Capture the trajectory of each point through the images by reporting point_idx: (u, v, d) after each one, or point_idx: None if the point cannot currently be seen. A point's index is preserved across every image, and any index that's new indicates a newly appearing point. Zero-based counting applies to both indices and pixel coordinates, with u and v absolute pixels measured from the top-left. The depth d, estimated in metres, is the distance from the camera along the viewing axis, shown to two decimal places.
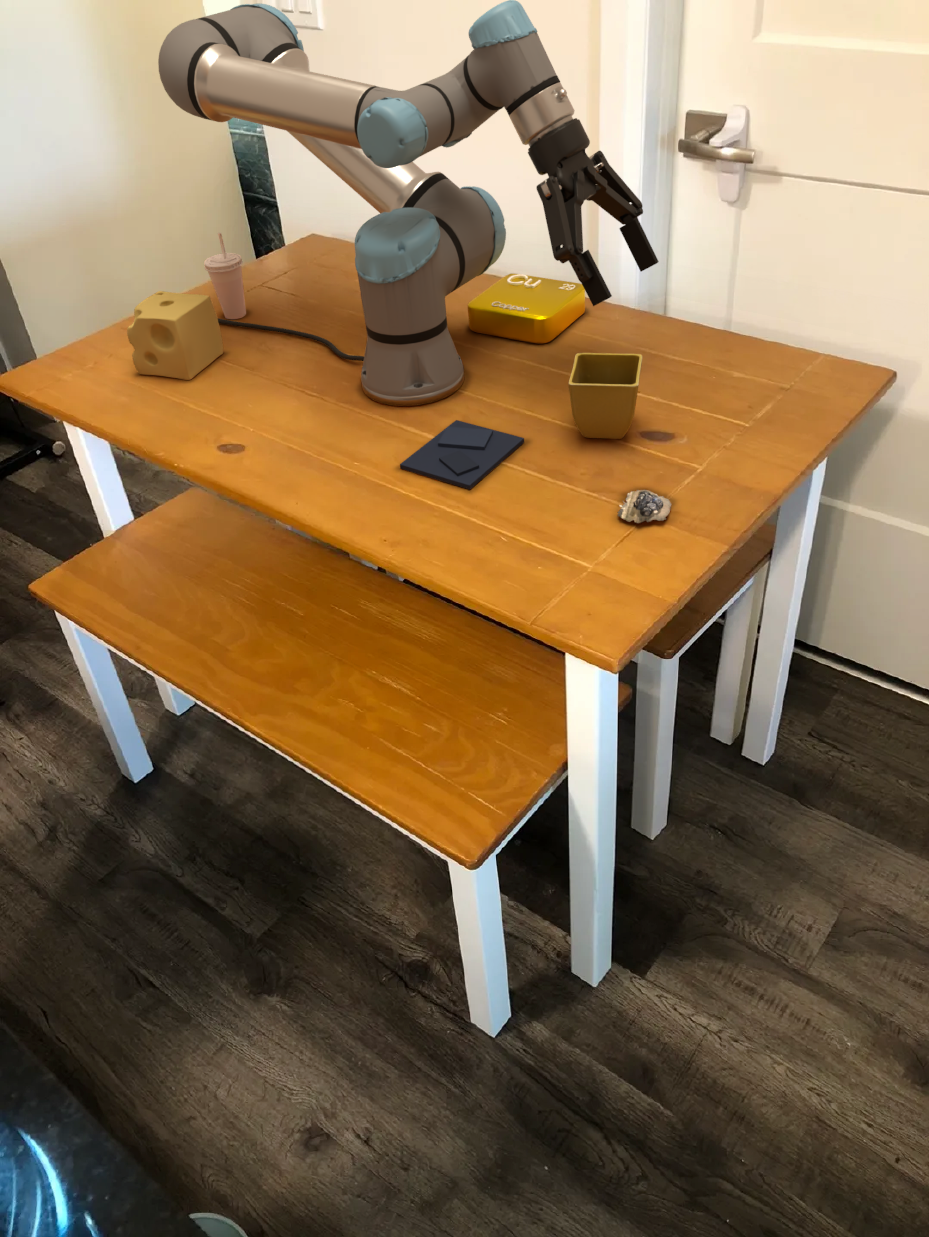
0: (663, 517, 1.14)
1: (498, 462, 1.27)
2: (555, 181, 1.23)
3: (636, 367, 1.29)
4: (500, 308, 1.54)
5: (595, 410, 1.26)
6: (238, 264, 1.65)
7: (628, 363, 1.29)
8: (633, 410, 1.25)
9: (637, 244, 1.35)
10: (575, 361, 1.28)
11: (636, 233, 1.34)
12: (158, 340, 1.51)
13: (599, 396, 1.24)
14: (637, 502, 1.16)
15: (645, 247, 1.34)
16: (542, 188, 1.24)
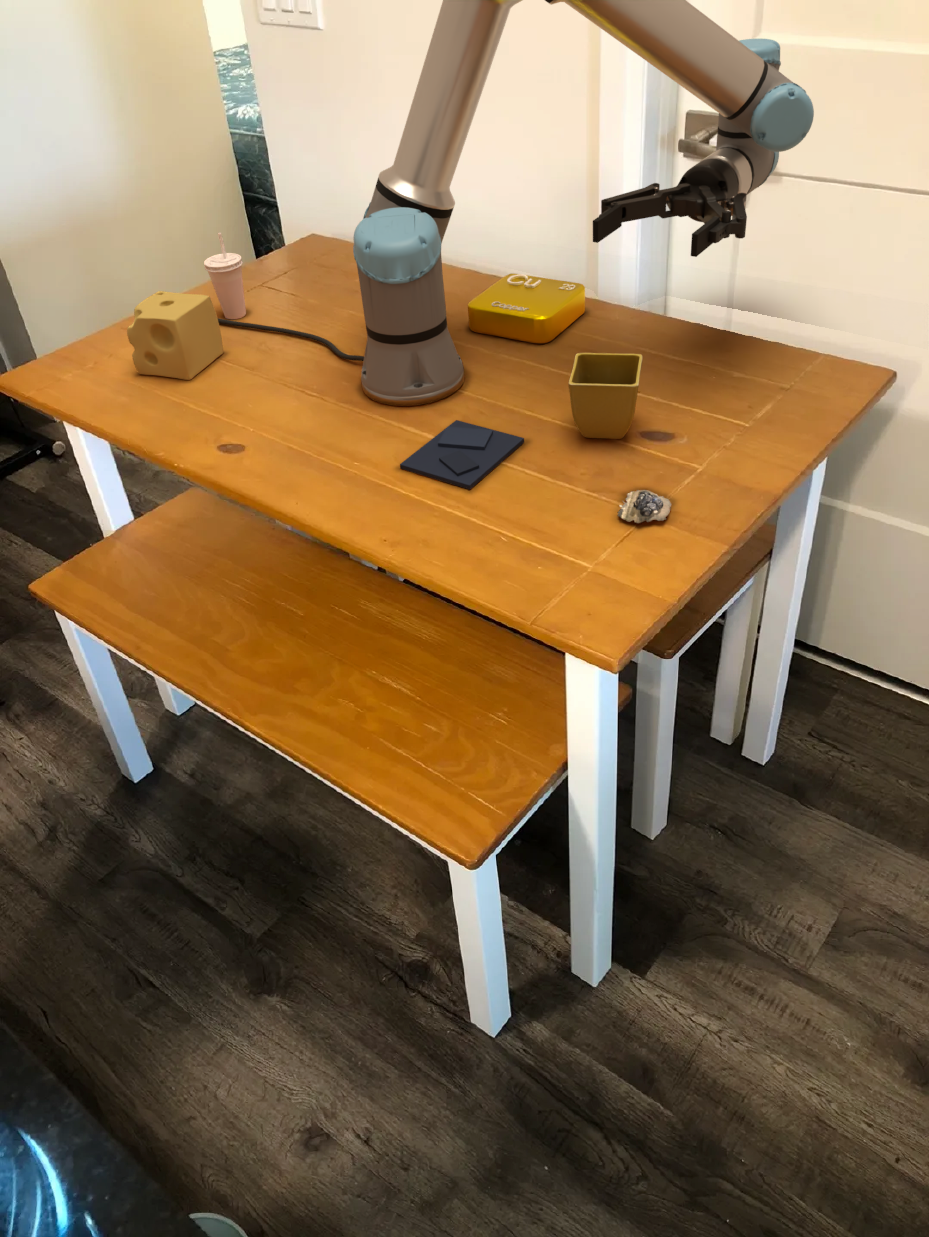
0: (663, 517, 1.14)
1: (498, 462, 1.27)
2: None
3: (636, 367, 1.29)
4: (500, 308, 1.54)
5: (595, 410, 1.26)
6: (238, 264, 1.65)
7: (628, 363, 1.29)
8: (633, 410, 1.25)
9: (610, 223, 1.28)
10: (575, 361, 1.28)
11: (615, 225, 1.29)
12: (158, 340, 1.51)
13: (599, 396, 1.24)
14: (637, 502, 1.16)
15: (607, 233, 1.28)
16: (745, 201, 1.29)
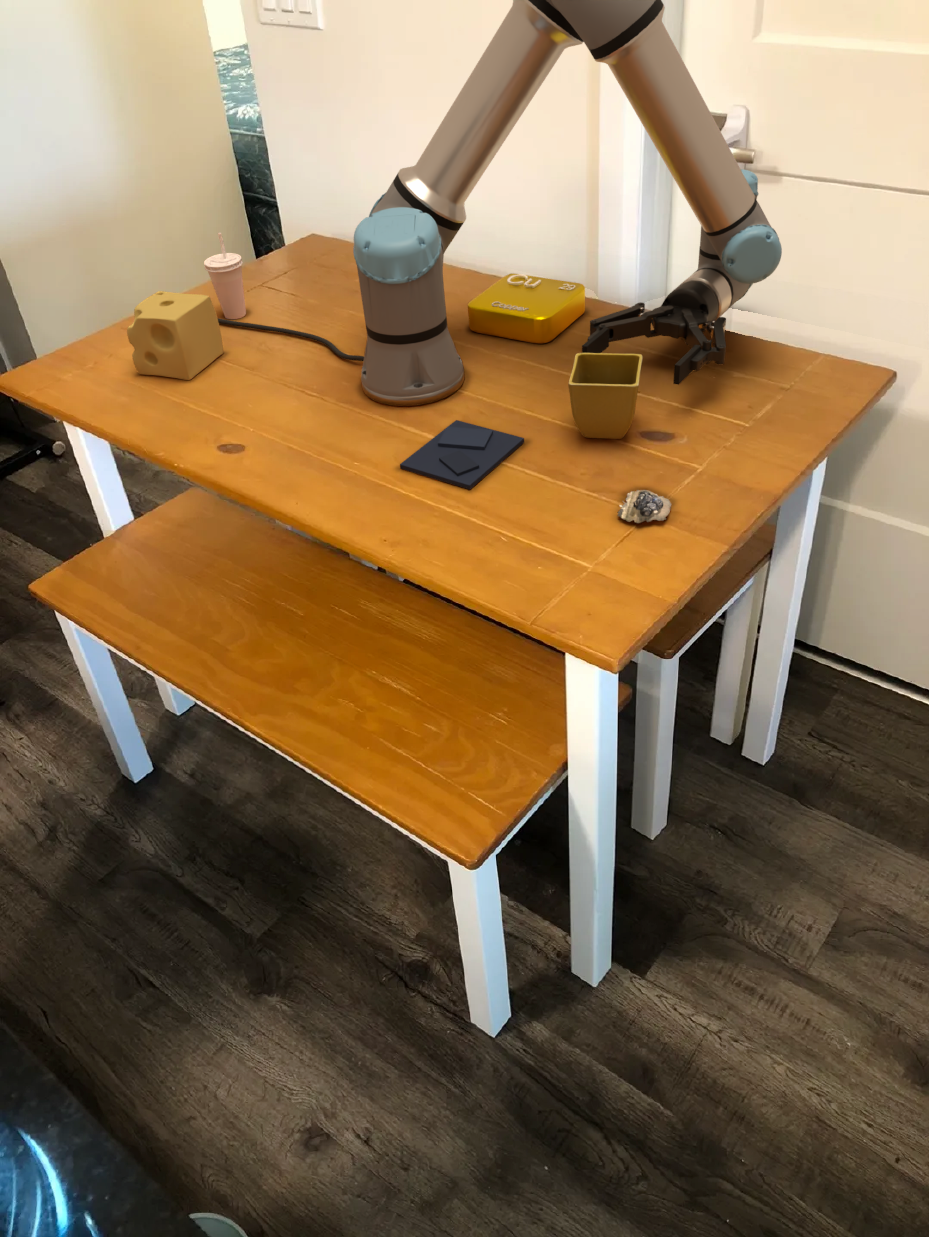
0: (663, 517, 1.14)
1: (498, 462, 1.27)
2: None
3: (636, 367, 1.29)
4: (500, 308, 1.54)
5: (595, 410, 1.26)
6: (238, 264, 1.65)
7: (628, 363, 1.29)
8: (633, 410, 1.25)
9: (598, 346, 1.37)
10: (575, 361, 1.28)
11: (603, 346, 1.38)
12: (158, 340, 1.51)
13: (599, 396, 1.24)
14: (637, 502, 1.16)
15: None
16: (724, 325, 1.37)
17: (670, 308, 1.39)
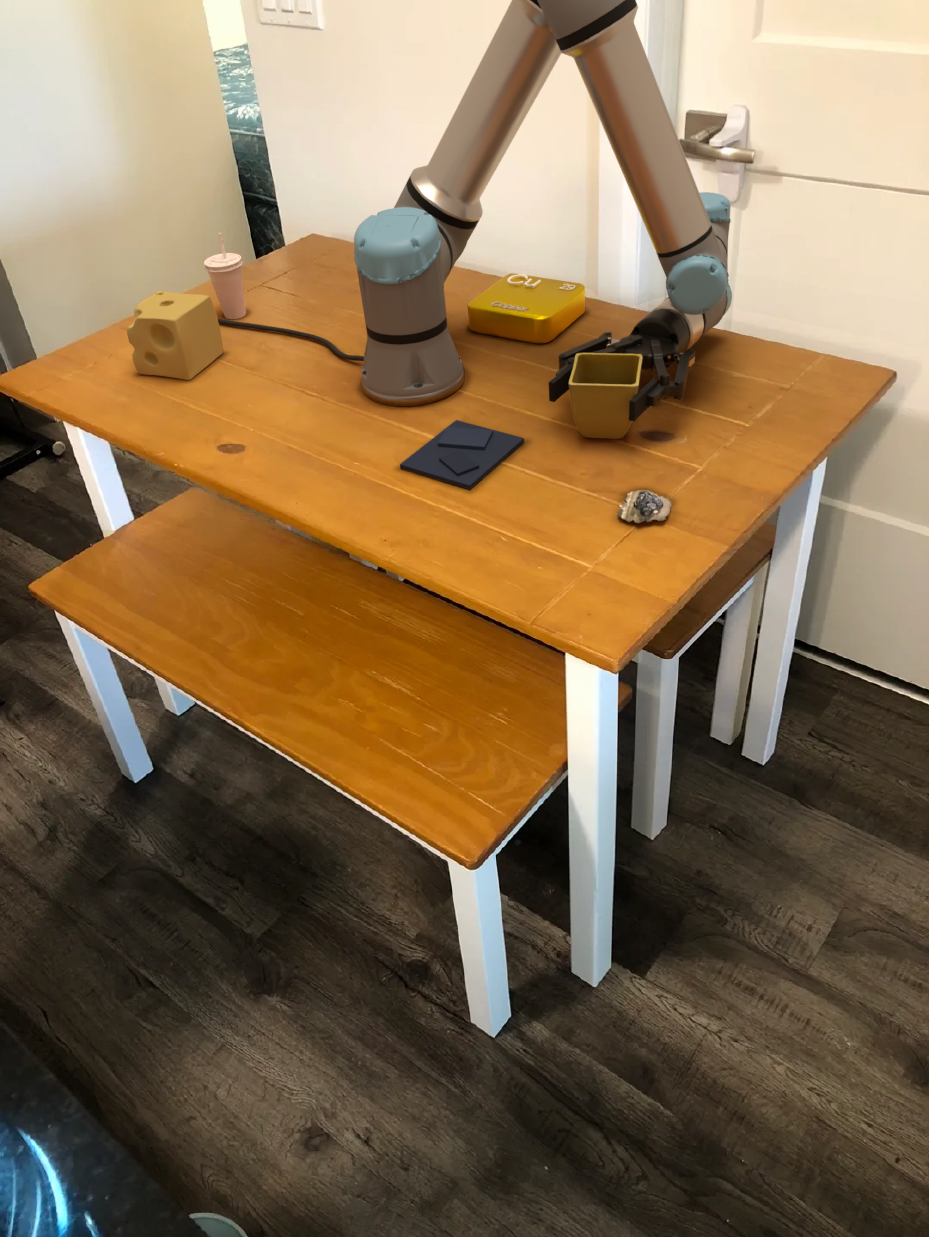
0: (663, 517, 1.14)
1: (498, 462, 1.27)
2: None
3: (636, 367, 1.29)
4: (500, 308, 1.54)
5: (595, 410, 1.26)
6: (238, 264, 1.65)
7: (628, 363, 1.29)
8: None
9: (567, 382, 1.30)
10: (575, 361, 1.28)
11: None
12: (158, 340, 1.51)
13: (599, 396, 1.24)
14: (637, 502, 1.16)
15: (563, 391, 1.30)
16: (693, 358, 1.31)
17: (638, 338, 1.34)
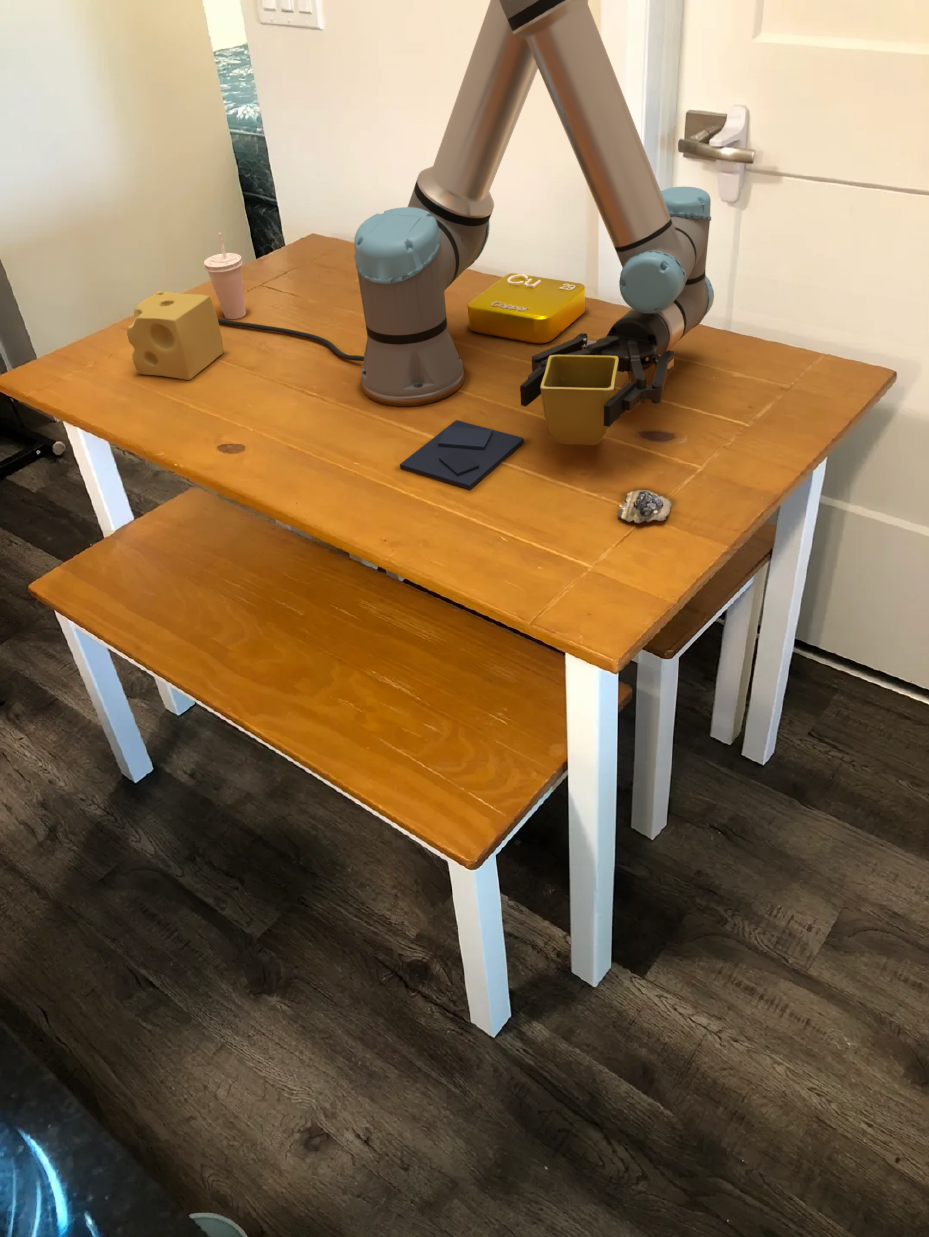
0: (663, 517, 1.14)
1: (498, 462, 1.27)
2: None
3: (612, 369, 1.23)
4: (500, 308, 1.54)
5: (569, 415, 1.20)
6: (238, 264, 1.65)
7: (604, 365, 1.23)
8: None
9: (539, 385, 1.24)
10: (548, 363, 1.22)
11: None
12: (158, 340, 1.51)
13: (573, 400, 1.18)
14: (637, 502, 1.16)
15: (536, 394, 1.24)
16: (672, 360, 1.26)
17: (615, 339, 1.28)
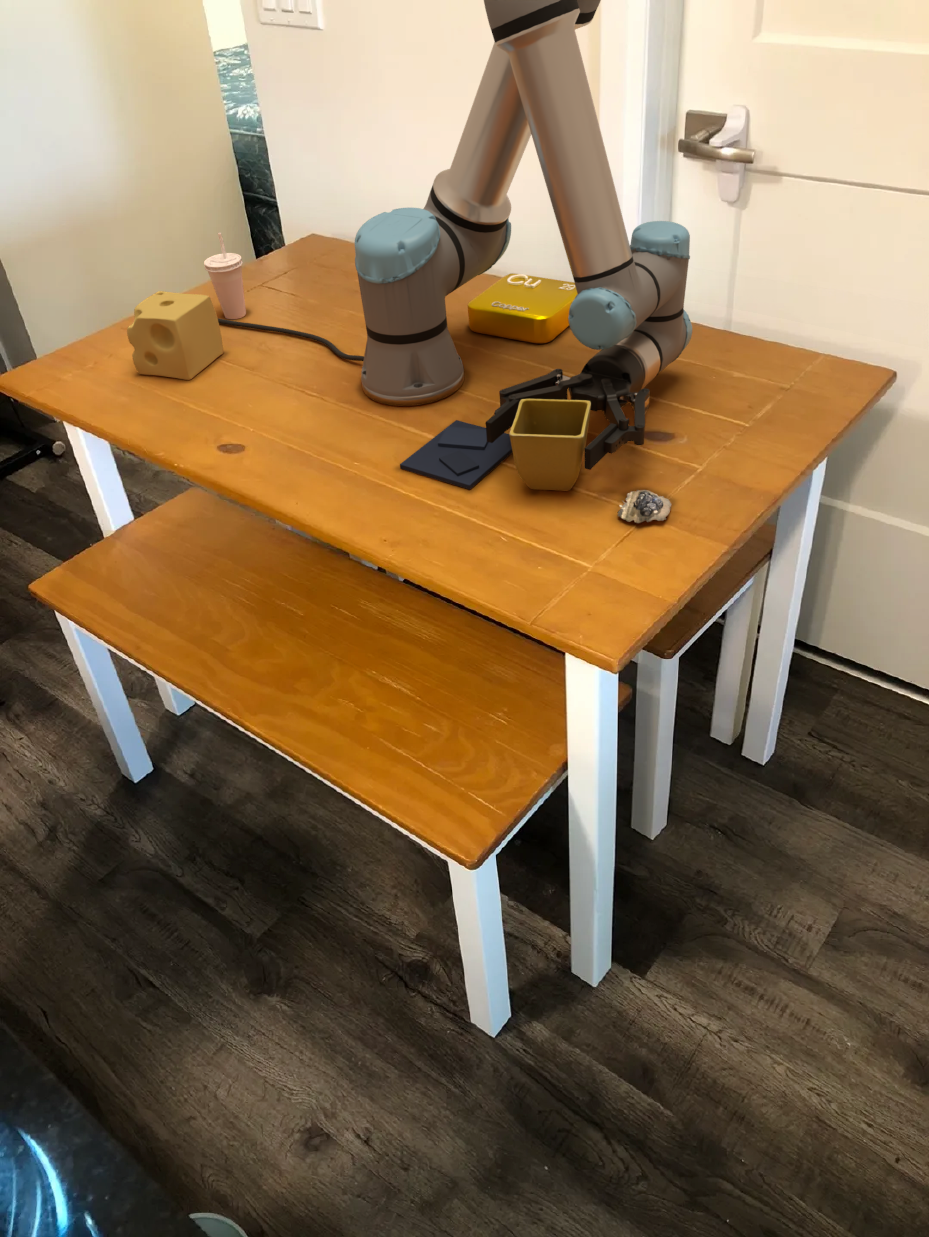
0: (663, 517, 1.14)
1: (498, 462, 1.27)
2: None
3: (584, 414, 1.20)
4: (500, 308, 1.54)
5: (539, 462, 1.17)
6: (238, 264, 1.65)
7: (576, 410, 1.21)
8: (579, 462, 1.16)
9: (506, 421, 1.22)
10: (519, 408, 1.20)
11: (512, 420, 1.23)
12: (158, 340, 1.51)
13: (542, 447, 1.15)
14: (637, 502, 1.16)
15: (503, 430, 1.22)
16: (648, 398, 1.23)
17: (588, 377, 1.25)
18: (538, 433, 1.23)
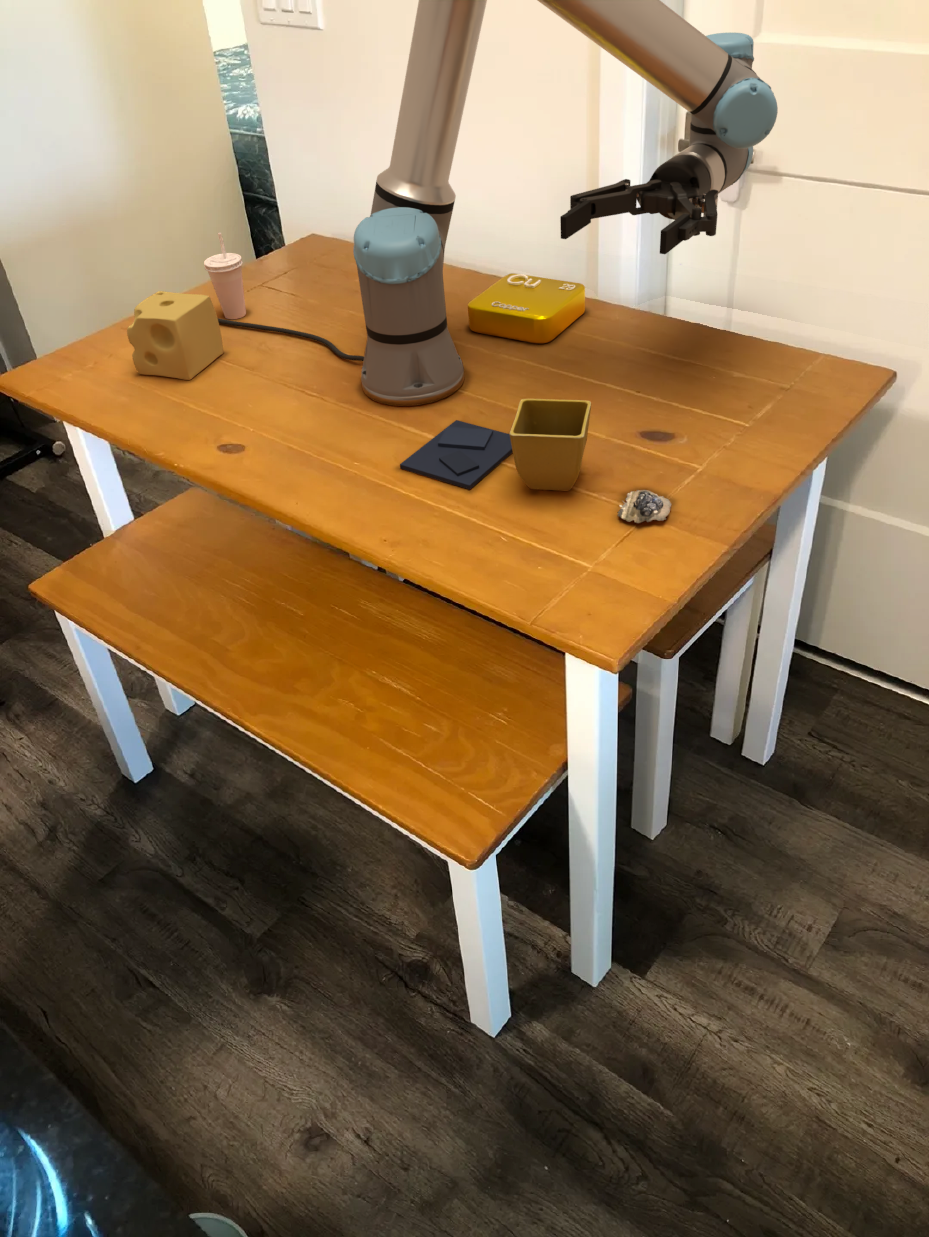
0: (663, 517, 1.14)
1: (498, 462, 1.27)
2: None
3: (585, 414, 1.20)
4: (500, 308, 1.54)
5: (539, 462, 1.17)
6: (238, 264, 1.65)
7: (576, 410, 1.21)
8: (579, 462, 1.16)
9: (579, 220, 1.25)
10: (519, 408, 1.20)
11: (584, 221, 1.26)
12: (158, 340, 1.51)
13: (542, 447, 1.15)
14: (637, 502, 1.16)
15: (575, 229, 1.25)
16: (717, 198, 1.26)
17: (657, 182, 1.28)
18: (538, 433, 1.23)
